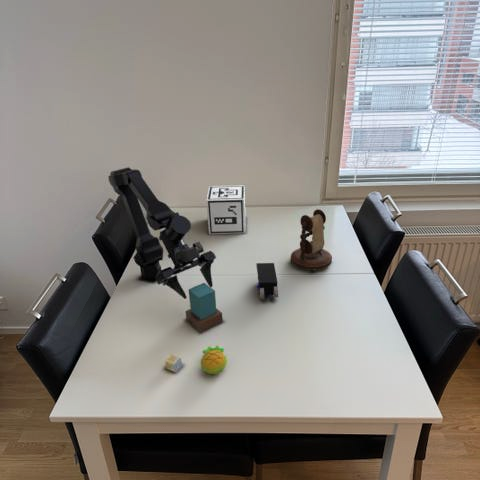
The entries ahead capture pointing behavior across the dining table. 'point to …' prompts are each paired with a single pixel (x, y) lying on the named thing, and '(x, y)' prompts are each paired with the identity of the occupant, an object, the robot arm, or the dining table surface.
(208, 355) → the toy pineapple
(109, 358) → the dining table surface
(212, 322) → the walnut base
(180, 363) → the alphabet block
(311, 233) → the brown upright piece
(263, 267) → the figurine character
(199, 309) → the teal block
